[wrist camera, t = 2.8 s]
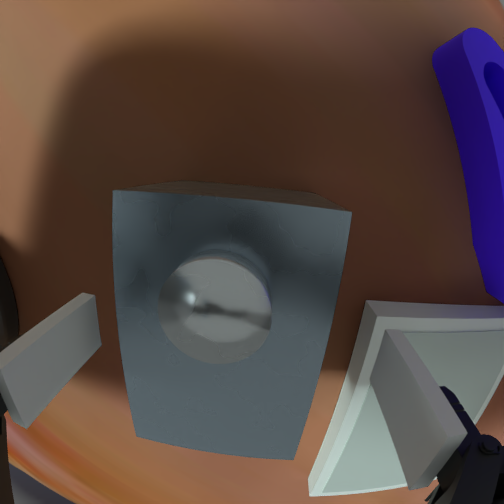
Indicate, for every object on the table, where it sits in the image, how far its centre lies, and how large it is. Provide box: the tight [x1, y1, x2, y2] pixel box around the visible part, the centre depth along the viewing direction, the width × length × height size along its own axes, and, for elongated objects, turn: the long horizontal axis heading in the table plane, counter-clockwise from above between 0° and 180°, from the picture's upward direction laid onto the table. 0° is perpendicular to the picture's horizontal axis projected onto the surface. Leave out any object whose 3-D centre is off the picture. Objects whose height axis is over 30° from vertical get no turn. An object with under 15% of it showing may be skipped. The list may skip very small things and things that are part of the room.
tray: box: [308, 300, 504, 496], centre depth 21 cm, size 15×21×3 cm
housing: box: [112, 180, 352, 460], centre depth 15 cm, size 8×13×10 cm, turn 175°
